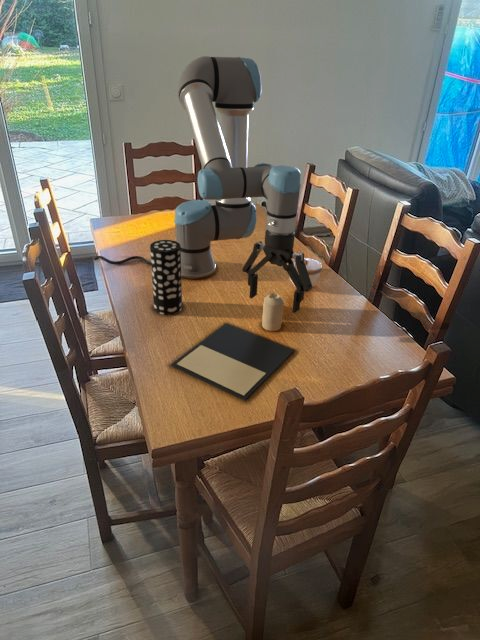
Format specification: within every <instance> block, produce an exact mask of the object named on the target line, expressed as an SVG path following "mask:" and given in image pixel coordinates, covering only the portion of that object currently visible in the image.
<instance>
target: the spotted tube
mask: <svg viewBox="0 0 480 640" xmlns="http://www.w3.org/2000/svg"><path fill="white" fill-rule="evenodd" d="M149 251H150V262H151V265H150V266H151V267H150V268H151V283H152V298H153V310H154V312H156V313H157V314H159V315H163V316H171V315H175V314H178V313H181V311H182V309H183V294H182V293H183V291H182V290H183V287H182V278H181V248H180V244H179V243H178V242H176V240H172V239H159V240H156V241H153V242H152V243H150V244H149Z"/></svg>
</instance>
